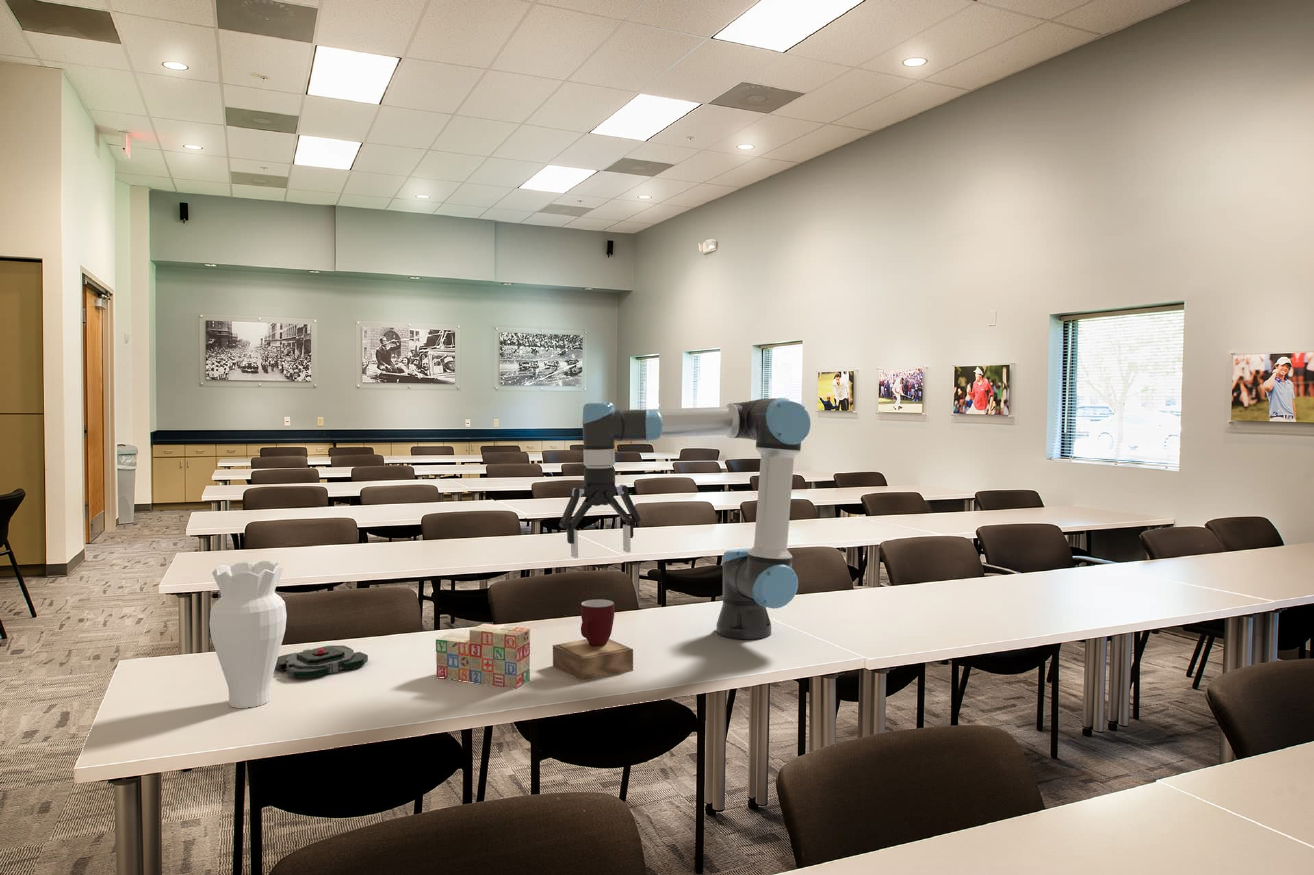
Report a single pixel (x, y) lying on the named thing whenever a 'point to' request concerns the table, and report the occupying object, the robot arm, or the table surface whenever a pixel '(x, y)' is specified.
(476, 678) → the stack of blocks
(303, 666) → the four-lobed dark green device
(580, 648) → the walnut block
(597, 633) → the mug
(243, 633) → the vase
